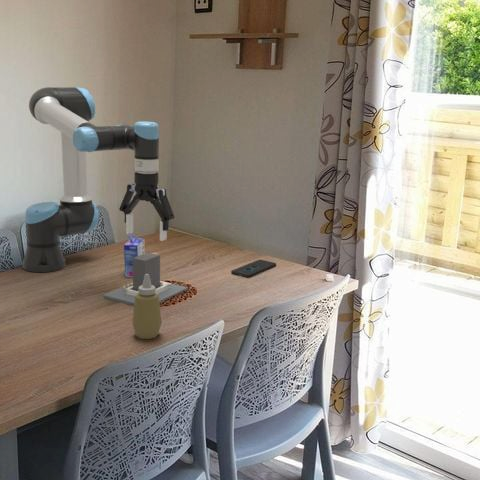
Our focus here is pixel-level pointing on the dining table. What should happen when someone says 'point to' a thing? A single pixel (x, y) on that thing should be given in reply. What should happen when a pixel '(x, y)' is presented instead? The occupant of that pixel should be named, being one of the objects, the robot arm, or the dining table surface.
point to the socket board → (128, 294)
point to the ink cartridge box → (132, 253)
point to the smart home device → (253, 268)
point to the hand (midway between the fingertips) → (146, 236)
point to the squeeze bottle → (146, 311)
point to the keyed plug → (146, 269)
